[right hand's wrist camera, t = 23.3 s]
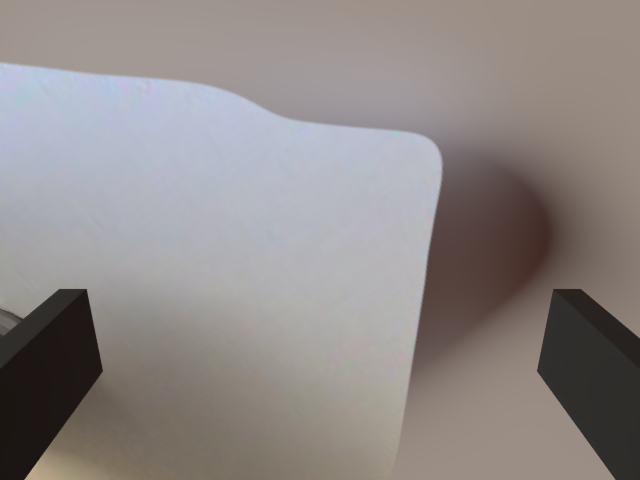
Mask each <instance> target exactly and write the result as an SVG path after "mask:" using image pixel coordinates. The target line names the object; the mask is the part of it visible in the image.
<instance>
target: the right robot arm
mask: <svg viewBox="0 0 640 480" xmlns="http://www.w3.org/2000/svg"><path fill="white" fill-rule="evenodd" d="M102 372H103V369H102V364H101V359H100V354H99V349H98V344H97V339H96V334H95V329H94V324H93V319H92V314H91V309H90V304H89V299H88V294H87V289H59V290H58V291H56V292H55V293H54V294H53V295H52V296H50V297H49V298H48V299H47V300H46V301H44V302H43V303H42V304H41V305H40V306H38V307H37V308H36V309H35V310H34V311H33V312H31V313H30V314H29V315H28V316H27V317H25V318H24V319H23V320H22V321H21V320H20V319H18V318H17V317H15V316H13V315H11V314H9V313H7V312H5V311H3V310H0V480H24V479H25V478H26V477H27V475H28V474H29V473H30V471H31V470H32V468H33V467H34V466H35V464H36V463H37V461H38V460H39V459H40V457H41V456H42V455H43V453H44V452H45V450H46V449H47V448H48V446H49V445H50V444H51V442H52V441H53V439H54V438H55V437H56V435H57V434H58V432H59V431H60V430H61V428H62V427H63V426H64V424H65V423H66V421H67V420H68V419H69V417H70V416H71V415H72V413H73V412H74V410H75V409H76V408H77V406H78V405H79V403H80V402H81V401H82V399H83V398H84V397H85V395H86V394H87V392H88V391H89V390H90V388H91V387H92V386H93V384H94V383H95V381H96V380H97V379H98V377H99V376H100V374H101V373H102ZM537 372H538V373H539V374H540V376H541V377H542V379H543V380H544V381H545V383H546V384H547V386H548V387H549V388H550V390H551V391H552V392H553V394H554V395H555V397H556V398H557V399H558V401H559V402H560V403H561V405H562V406H563V408H564V409H565V410H566V412H567V413H568V415H569V416H570V417H571V419H572V420H573V421H574V423H575V424H576V425H577V427H578V428H579V430H580V431H581V432H582V434H583V435H584V437H585V438H586V439H587V441H588V442H589V444H590V445H591V446H592V448H593V449H594V450H595V452H596V453H597V455H598V456H599V457H600V459H601V460H602V461H603V463H604V464H605V466H606V467H607V468H608V470H609V471H610V473H611V474H612V475H613V477H614V478H615V479H616V480H640V338H639V337H637V336H636V335H635V334H634V333H632V332H631V331H630V330H629V329H628V328H627V327H625V326H624V325H623V324H622V323H621V322H619V321H618V320H617V319H616V318H615V317H613V316H612V315H611V314H610V313H609V312H607V311H606V310H605V309H604V308H603V307H601V306H600V305H599V304H598V303H597V302H595V301H594V300H593V299H592V298H591V297H590V296H588V295H587V294H586V293H585V292H584V291H582V290H581V289H553V294H552V299H551V304H550V309H549V314H548V319H547V324H546V329H545V334H544V339H543V344H542V349H541V354H540V359H539V364H538V369H537Z"/></svg>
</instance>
